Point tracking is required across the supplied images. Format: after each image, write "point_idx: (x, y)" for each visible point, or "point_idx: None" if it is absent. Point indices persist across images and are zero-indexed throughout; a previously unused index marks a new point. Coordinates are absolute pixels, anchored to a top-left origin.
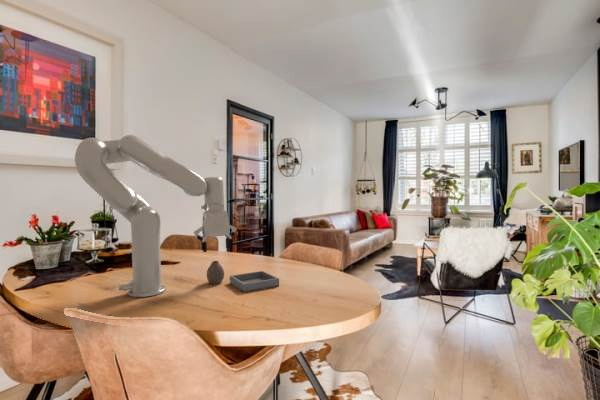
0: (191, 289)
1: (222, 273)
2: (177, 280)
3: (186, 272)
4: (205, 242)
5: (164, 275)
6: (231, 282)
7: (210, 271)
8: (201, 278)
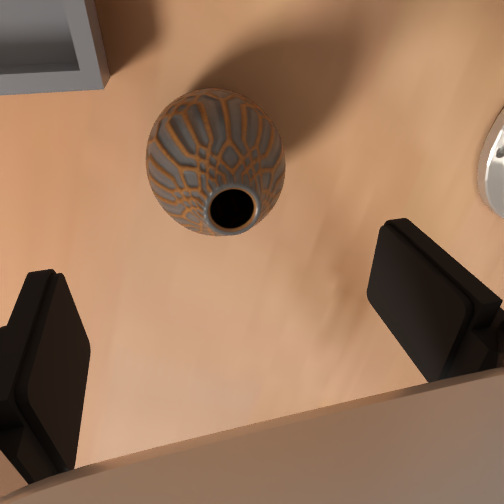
0: (383, 65)
1: (168, 113)
2: (367, 279)
3: (288, 382)
4: (487, 300)
5: (377, 365)
6: (100, 38)
7: (274, 133)
8: (257, 270)
